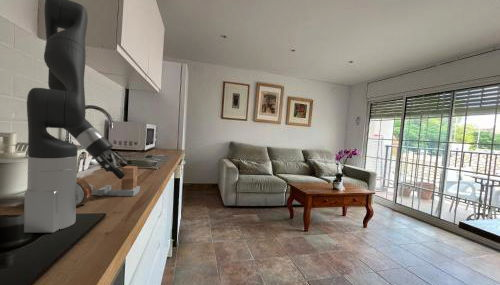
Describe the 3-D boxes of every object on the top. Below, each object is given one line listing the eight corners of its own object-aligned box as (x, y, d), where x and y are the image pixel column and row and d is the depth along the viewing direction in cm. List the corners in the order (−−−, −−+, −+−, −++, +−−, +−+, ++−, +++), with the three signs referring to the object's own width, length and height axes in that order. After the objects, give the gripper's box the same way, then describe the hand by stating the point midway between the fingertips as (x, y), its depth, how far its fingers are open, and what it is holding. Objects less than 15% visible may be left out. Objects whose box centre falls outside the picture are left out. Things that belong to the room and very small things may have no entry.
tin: (92, 205, 74) (93, 178, 73) (84, 208, 71) (85, 180, 70) (49, 200, 75) (49, 174, 75) (39, 203, 72) (39, 176, 72)
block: (132, 189, 87) (133, 168, 86) (121, 189, 86) (122, 167, 86) (136, 186, 91) (137, 166, 90) (125, 186, 90) (126, 166, 90)
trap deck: (133, 196, 85) (133, 189, 85) (65, 194, 82) (65, 188, 82) (139, 191, 92) (139, 185, 92) (76, 189, 89) (76, 183, 89)
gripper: (93, 136, 79) (128, 171, 81) (111, 135, 93) (140, 165, 95) (75, 151, 78) (111, 186, 81) (96, 148, 92) (126, 177, 95)
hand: (127, 175), depth 88 cm, fingers open, 8 cm apart
